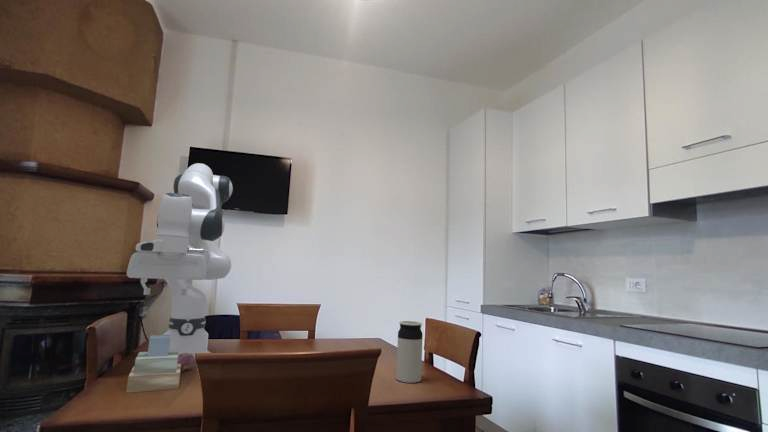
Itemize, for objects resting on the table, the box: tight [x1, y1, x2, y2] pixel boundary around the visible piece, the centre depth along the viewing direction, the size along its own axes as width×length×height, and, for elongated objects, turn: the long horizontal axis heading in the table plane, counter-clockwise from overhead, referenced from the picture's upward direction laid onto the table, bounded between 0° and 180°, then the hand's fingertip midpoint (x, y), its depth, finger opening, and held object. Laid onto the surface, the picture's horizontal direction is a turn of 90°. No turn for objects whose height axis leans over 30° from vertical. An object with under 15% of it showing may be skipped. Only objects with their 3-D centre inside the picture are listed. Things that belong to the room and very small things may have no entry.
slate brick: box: [147, 334, 171, 357], centre depth 111 cm, size 5×5×5 cm
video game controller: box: [177, 353, 195, 372], centre depth 123 cm, size 10×5×7 cm, turn 170°
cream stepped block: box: [126, 350, 181, 394], centre depth 110 cm, size 12×12×8 cm
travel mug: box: [395, 320, 423, 384], centre depth 127 cm, size 8×8×18 cm
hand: (165, 295), depth 113 cm, fingers open, 8 cm apart
